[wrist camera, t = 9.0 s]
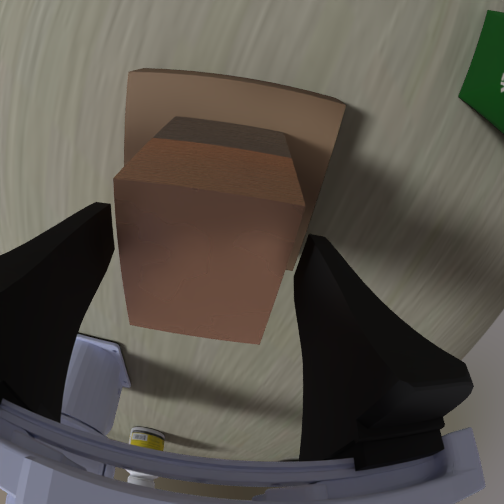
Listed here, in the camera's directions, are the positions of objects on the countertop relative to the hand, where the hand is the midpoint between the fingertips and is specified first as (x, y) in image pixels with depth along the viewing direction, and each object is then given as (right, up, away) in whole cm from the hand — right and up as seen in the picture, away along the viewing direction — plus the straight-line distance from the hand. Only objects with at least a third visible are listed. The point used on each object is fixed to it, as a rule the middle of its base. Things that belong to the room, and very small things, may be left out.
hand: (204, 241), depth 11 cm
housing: (0, +3, +4) cm, 5 cm away
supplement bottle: (-17, -32, +35) cm, 50 cm away
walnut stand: (0, +4, +6) cm, 7 cm away
